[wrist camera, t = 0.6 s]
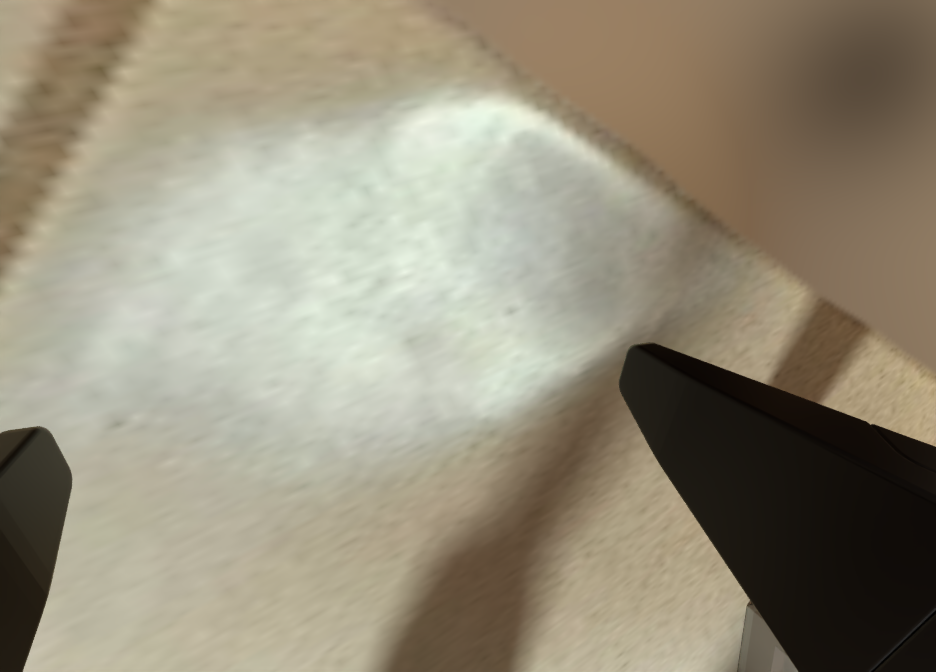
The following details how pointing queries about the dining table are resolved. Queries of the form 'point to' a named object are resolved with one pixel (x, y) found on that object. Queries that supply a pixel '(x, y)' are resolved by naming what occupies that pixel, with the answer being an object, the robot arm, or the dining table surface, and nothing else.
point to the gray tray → (761, 647)
